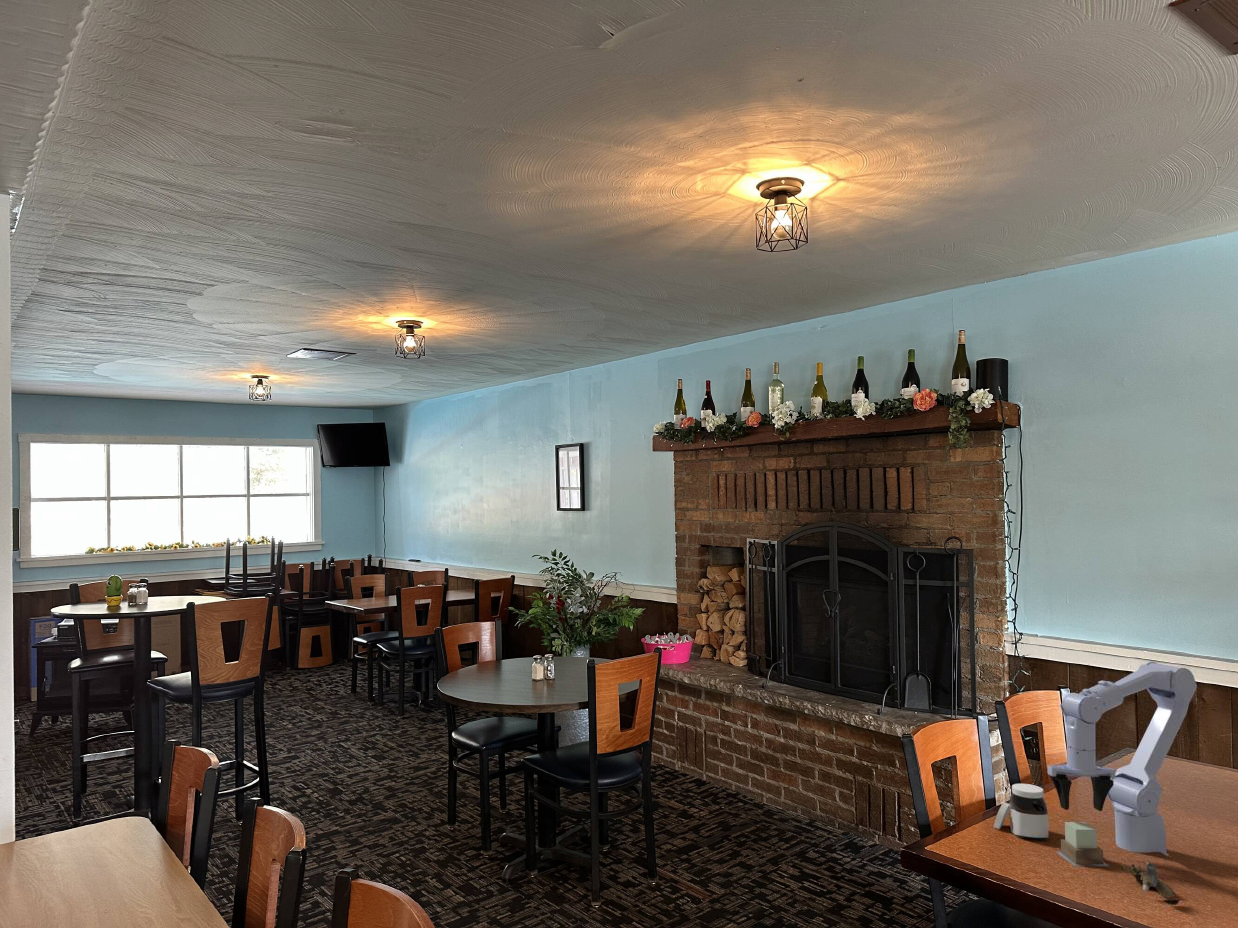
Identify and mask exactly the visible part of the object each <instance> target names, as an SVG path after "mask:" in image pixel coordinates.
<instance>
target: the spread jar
mask: <svg viewBox="0 0 1238 928" xmlns="http://www.w3.org/2000/svg"><path fill="white" fill-rule="evenodd" d="M1011 792H1012V793H1011V795H1009V800H1008V801H1009V802H1005V801H1003V802H1002V804H1001V806H1000V807H999V809H998V812H997V814H996V817H995V820H994V824H993V828H994V829H997V830H1000V829H1001V828H1002V827H1003V825H1004V824H1005V822H1006V819H1007V818H1008V817H1007V816H1008V814H1009V826H1010V832H1011V833H1012V834H1013V835H1014V836H1015V837H1016V838H1019V839H1021V840H1027V841H1036V842H1037V841H1039V842H1040V841H1041V842H1042V841H1047V840H1048V838H1049V814H1048V813H1049V812H1048V805H1047V802H1046V801H1045V799H1044V794H1045V793H1044V792H1045V791H1044V789H1043V788H1042V787H1040V786H1037V785H1034V784H1029V783H1014V784H1012V785H1011Z"/></svg>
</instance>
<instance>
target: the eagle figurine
mask: <svg viewBox="0 0 1238 928" xmlns="http://www.w3.org/2000/svg"><path fill="white" fill-rule="evenodd" d="M1145 865H1146V868H1147V869H1146V871H1142V868H1141V866H1140V865H1139V864H1138V865H1137V867H1138V869H1137V868H1136V866H1135V863H1133V864H1131V865H1130V868H1129V867H1127V866H1126V865H1125V864H1124V863H1121V866H1122V867H1123V869H1124V870H1126V871H1127V872H1128V873H1130V874H1131V875H1132V876H1133V877H1134V879H1135V881H1136V882H1137V883H1138V884H1142V890H1143V891H1149V890H1150V888H1152V887H1153V888H1154V889H1156V891H1157V892H1158V893H1159V894H1160V895H1159V896H1161V897H1166V898H1173V897H1175V896H1176V892H1175V891H1174V890H1173V889H1172V887H1171V888H1170V886H1168V885H1167V884H1166V883H1165V882H1163V881H1161V880H1160V879H1159V876H1158V871H1157V869H1156V867H1155V865H1154V864H1153V863H1150V862H1148V861H1145ZM1141 877H1142V879H1141ZM1162 901H1163V903H1165V904H1167V905H1170V906H1177V905H1178V904H1179V903H1180V900H1179V899H1163V900H1162Z"/></svg>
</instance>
